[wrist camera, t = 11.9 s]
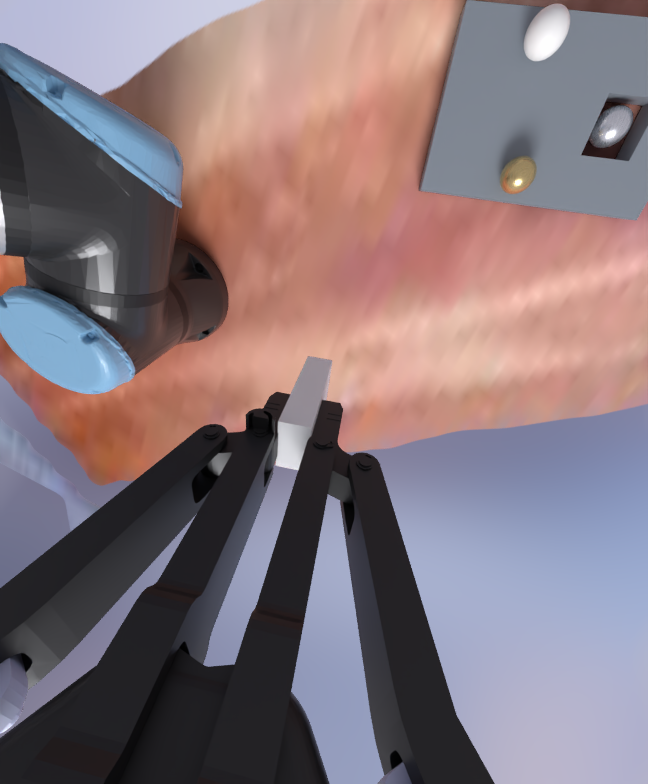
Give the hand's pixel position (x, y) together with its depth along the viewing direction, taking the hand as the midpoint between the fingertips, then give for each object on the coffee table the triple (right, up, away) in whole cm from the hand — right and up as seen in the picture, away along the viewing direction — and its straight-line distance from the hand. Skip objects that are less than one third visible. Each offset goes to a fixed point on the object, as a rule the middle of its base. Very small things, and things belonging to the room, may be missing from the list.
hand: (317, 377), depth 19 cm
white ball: (+19, +29, +7) cm, 36 cm away
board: (+24, +27, +13) cm, 38 cm away
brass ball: (+20, +21, +12) cm, 32 cm away
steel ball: (+28, +25, +11) cm, 39 cm away
